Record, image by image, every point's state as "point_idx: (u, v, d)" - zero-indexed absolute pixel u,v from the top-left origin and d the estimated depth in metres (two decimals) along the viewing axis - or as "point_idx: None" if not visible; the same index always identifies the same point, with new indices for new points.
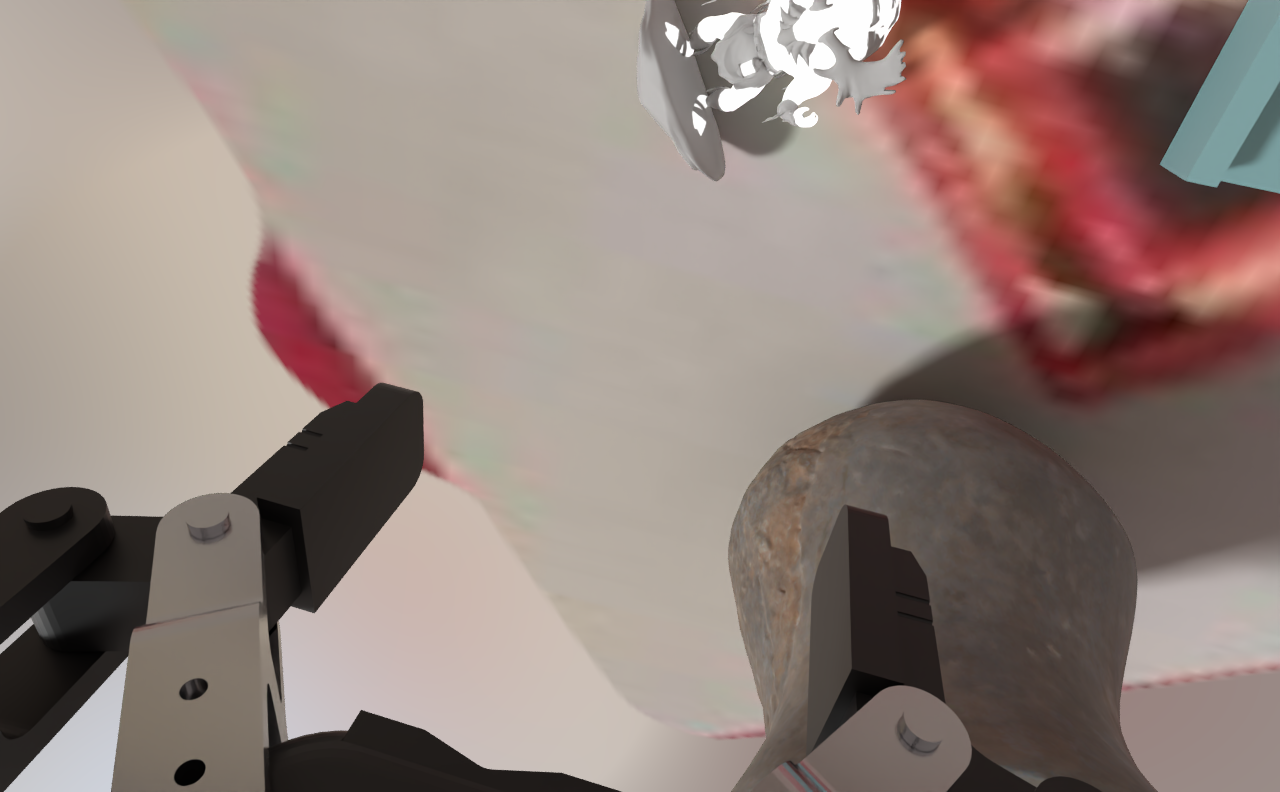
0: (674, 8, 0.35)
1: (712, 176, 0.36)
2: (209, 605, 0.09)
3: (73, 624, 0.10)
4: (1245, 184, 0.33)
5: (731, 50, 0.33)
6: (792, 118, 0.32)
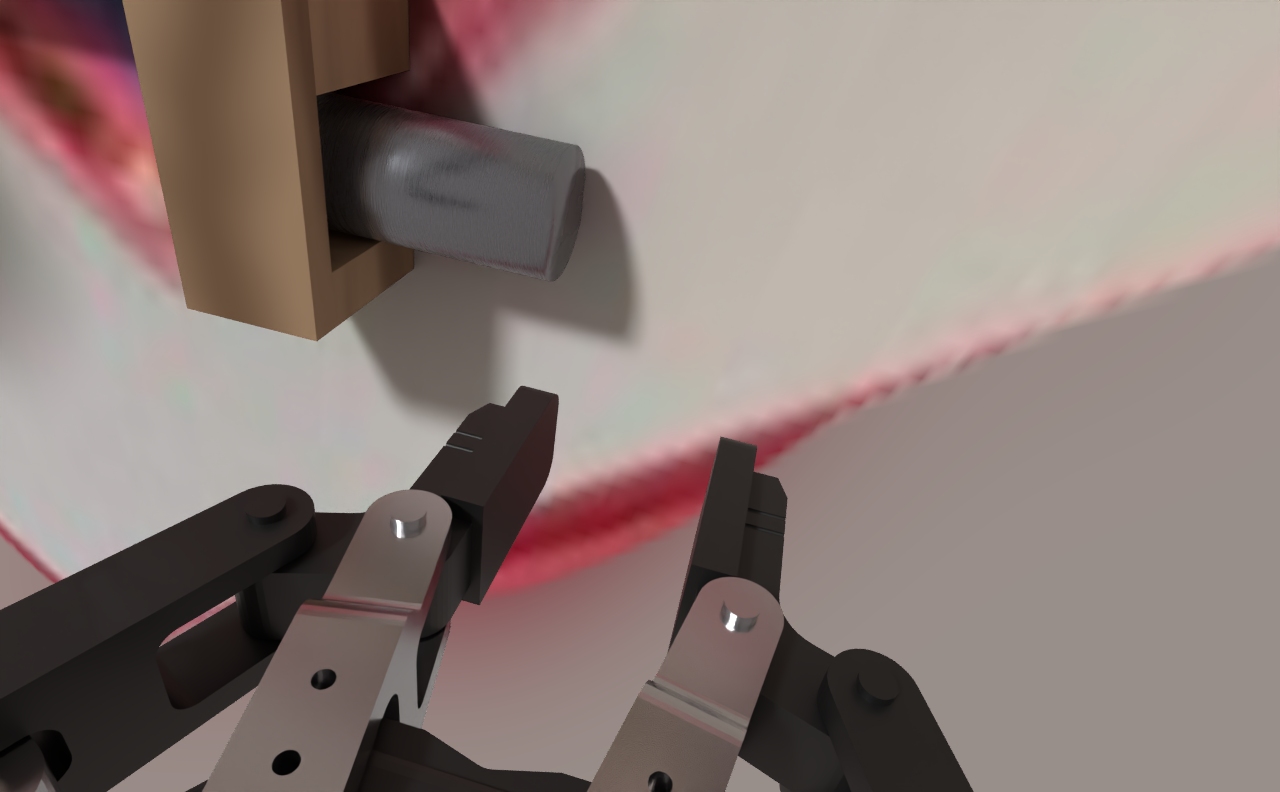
0: None
1: None
2: (376, 597, 0.09)
3: (260, 615, 0.10)
4: None
5: None
6: None
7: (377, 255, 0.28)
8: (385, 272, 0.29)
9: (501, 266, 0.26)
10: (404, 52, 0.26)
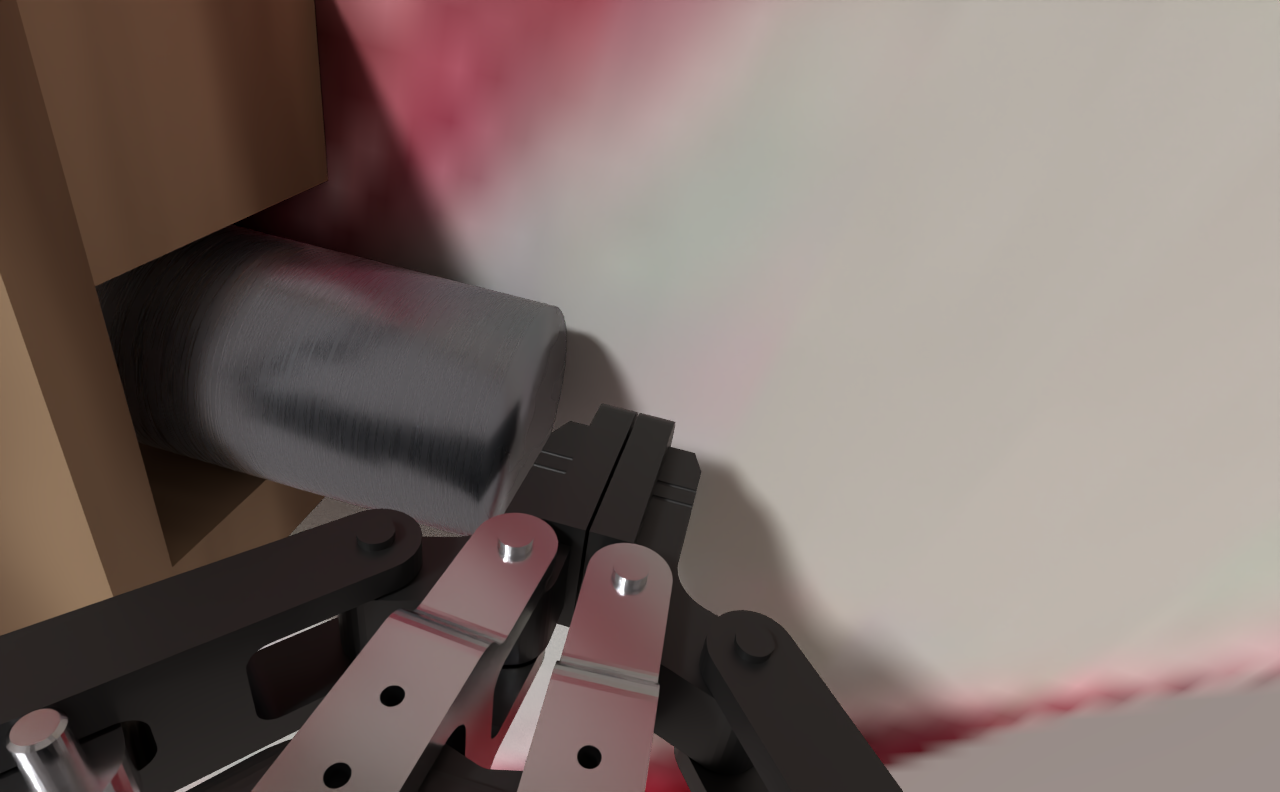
0: None
1: None
2: (466, 619, 0.09)
3: (355, 639, 0.10)
4: None
5: None
6: None
7: (276, 488, 0.16)
8: (293, 504, 0.17)
9: None
10: (315, 154, 0.15)
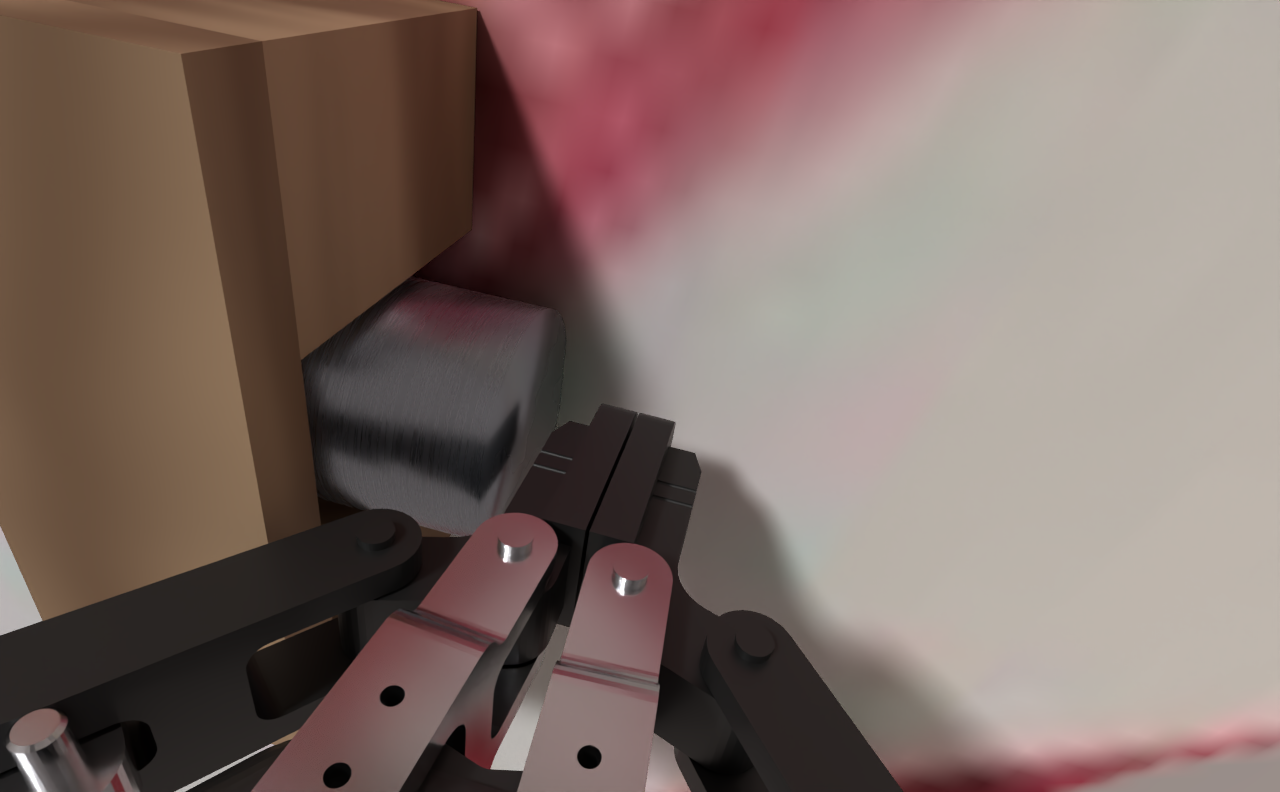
0: None
1: None
2: (466, 619, 0.09)
3: (354, 639, 0.10)
4: None
5: None
6: None
7: None
8: None
9: None
10: (465, 205, 0.14)
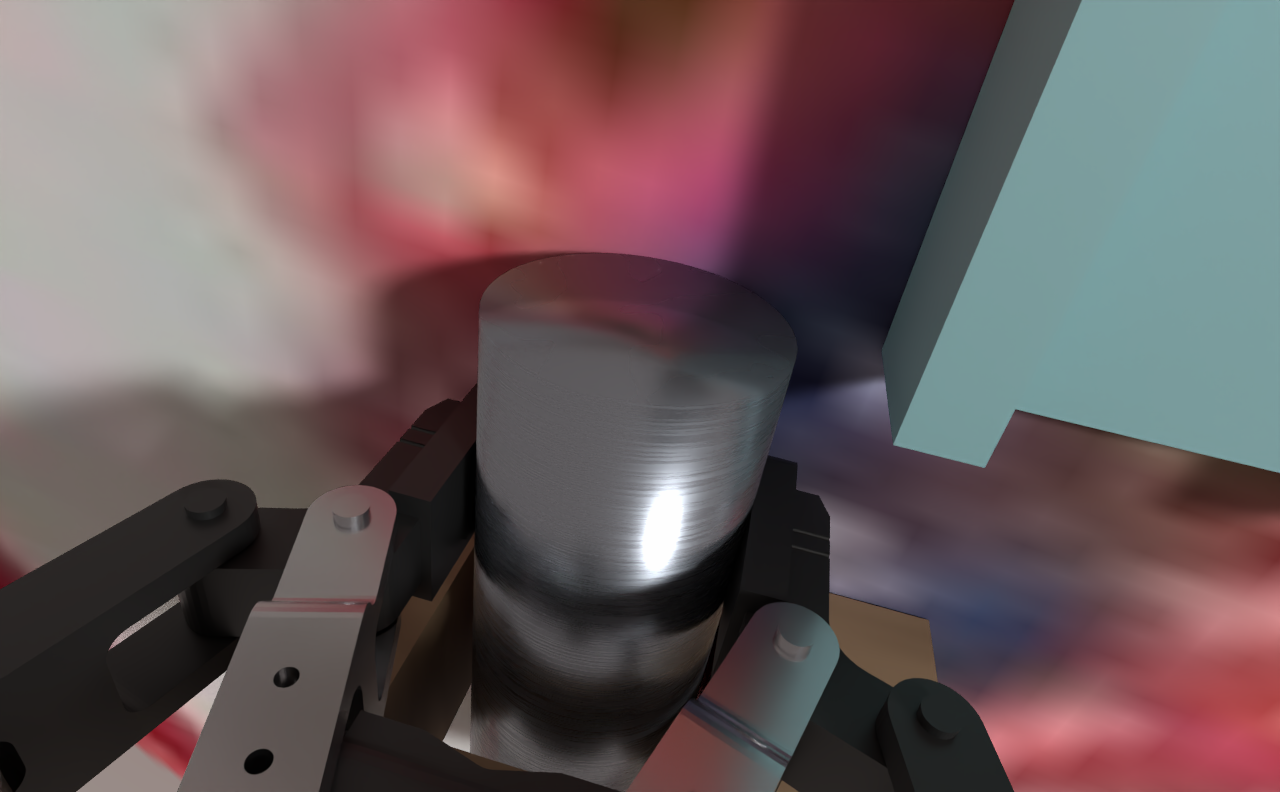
0: None
1: None
2: (329, 594, 0.09)
3: (208, 611, 0.10)
4: None
5: None
6: None
7: None
8: None
9: None
10: None
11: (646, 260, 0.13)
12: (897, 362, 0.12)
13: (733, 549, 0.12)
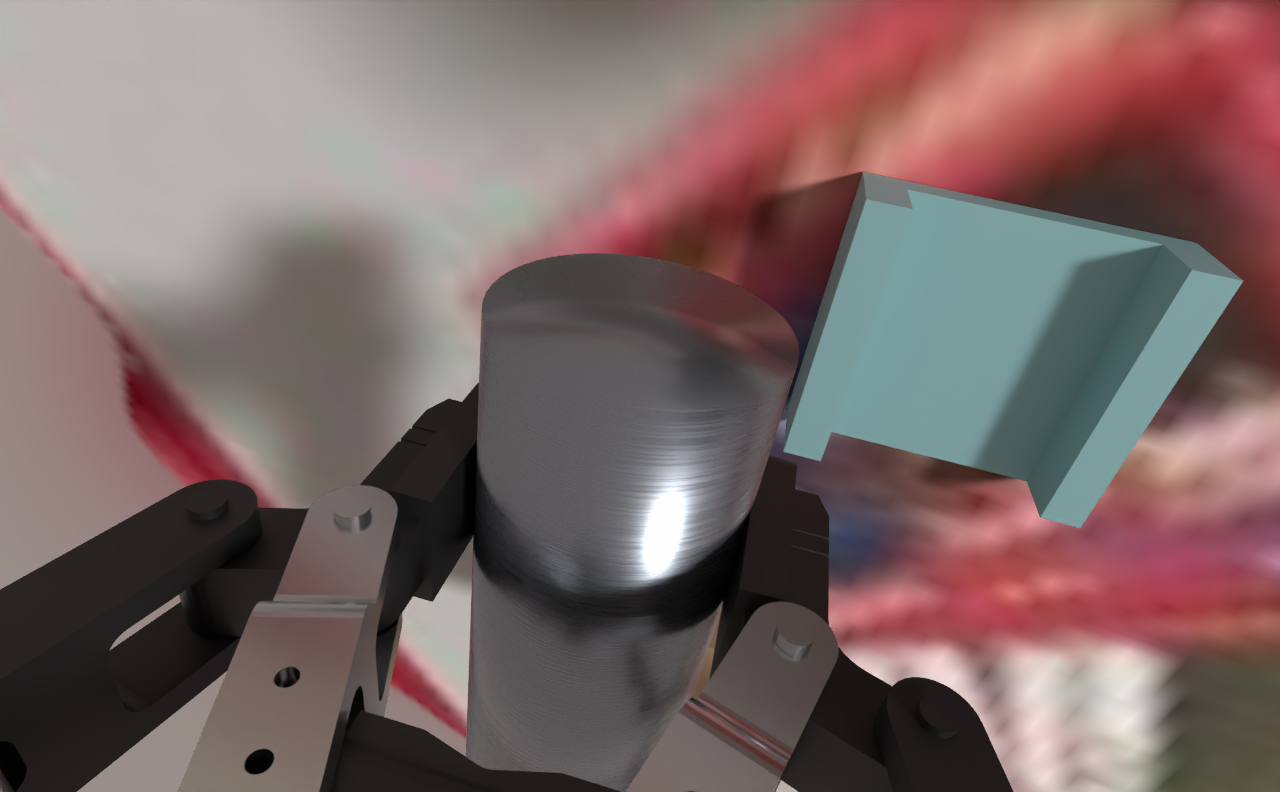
0: None
1: None
2: (330, 594, 0.09)
3: (209, 612, 0.10)
4: (1089, 231, 0.21)
5: None
6: None
7: None
8: None
9: None
10: None
11: (649, 260, 0.13)
12: (789, 415, 0.26)
13: (732, 551, 0.12)
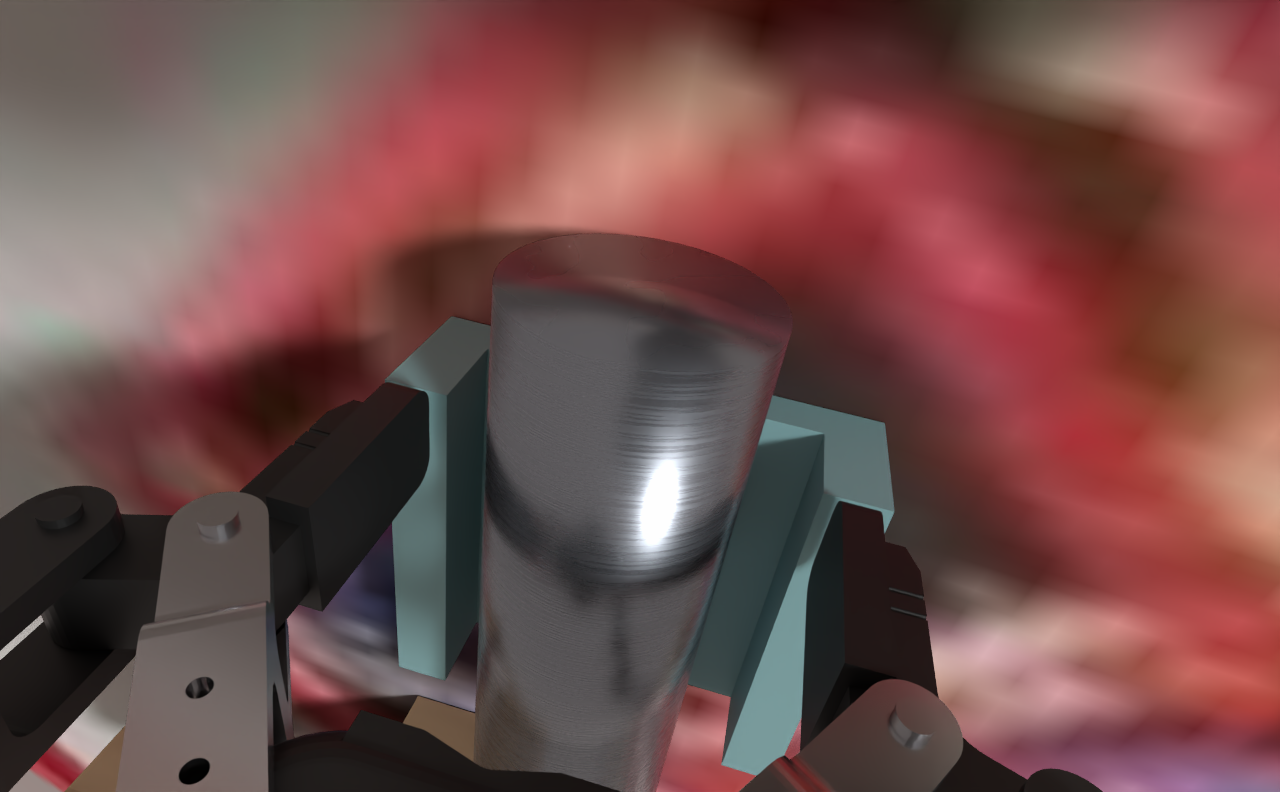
0: None
1: None
2: (217, 603, 0.09)
3: (82, 623, 0.10)
4: None
5: None
6: None
7: None
8: None
9: None
10: None
11: (660, 242, 0.14)
12: None
13: (724, 519, 0.12)
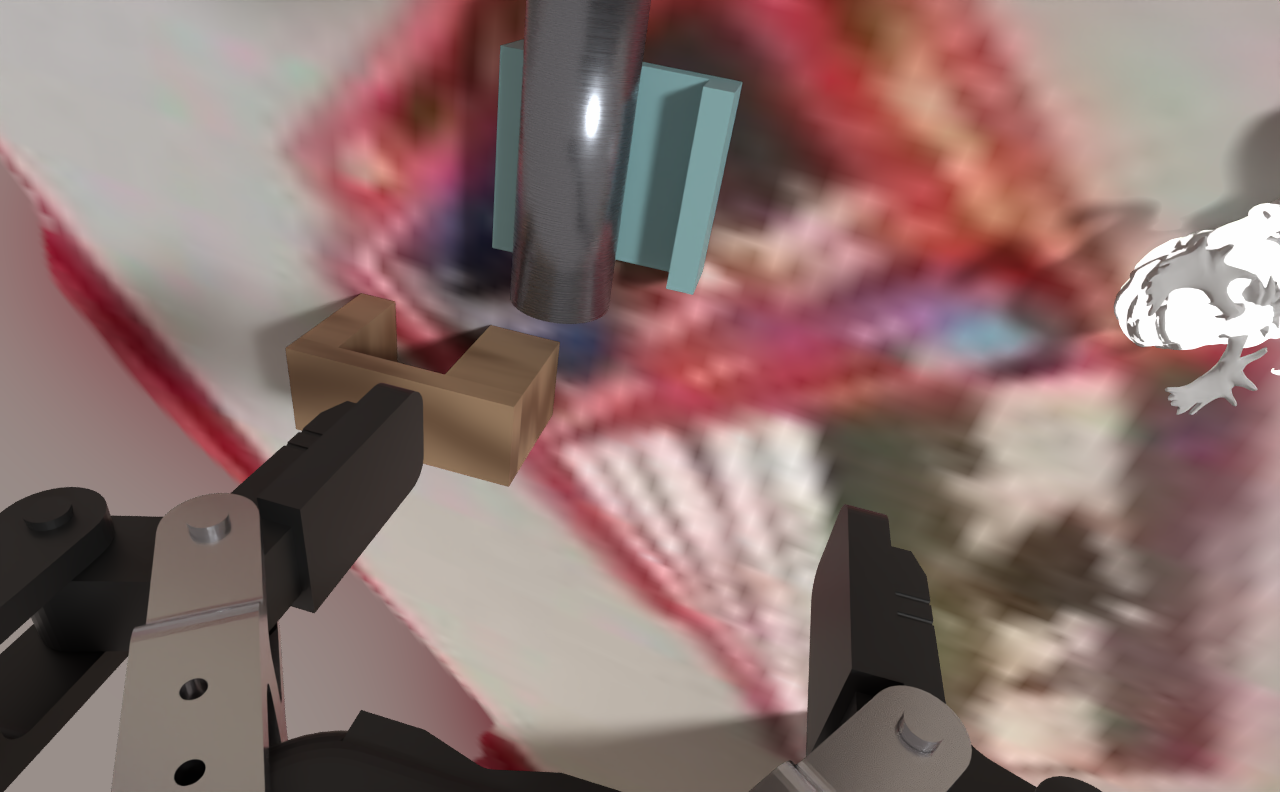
0: None
1: None
2: (209, 605, 0.09)
3: (73, 624, 0.10)
4: (663, 71, 0.31)
5: None
6: None
7: None
8: None
9: None
10: None
11: None
12: None
13: (603, 76, 0.28)
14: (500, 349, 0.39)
